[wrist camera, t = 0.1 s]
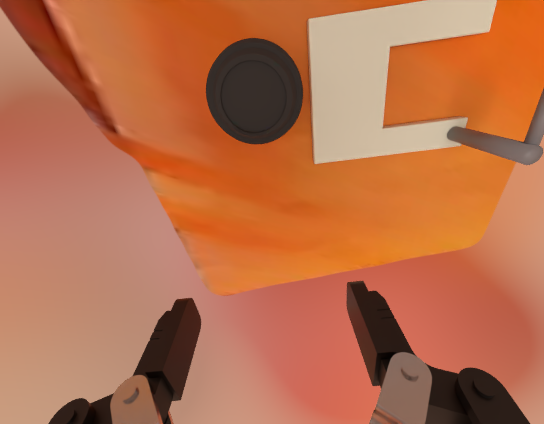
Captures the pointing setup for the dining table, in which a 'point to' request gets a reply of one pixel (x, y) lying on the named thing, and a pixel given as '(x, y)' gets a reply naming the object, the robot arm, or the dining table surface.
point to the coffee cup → (254, 91)
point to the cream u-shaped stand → (373, 79)
